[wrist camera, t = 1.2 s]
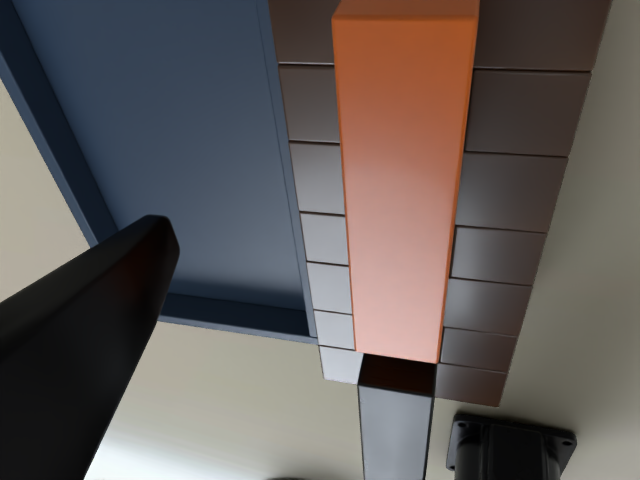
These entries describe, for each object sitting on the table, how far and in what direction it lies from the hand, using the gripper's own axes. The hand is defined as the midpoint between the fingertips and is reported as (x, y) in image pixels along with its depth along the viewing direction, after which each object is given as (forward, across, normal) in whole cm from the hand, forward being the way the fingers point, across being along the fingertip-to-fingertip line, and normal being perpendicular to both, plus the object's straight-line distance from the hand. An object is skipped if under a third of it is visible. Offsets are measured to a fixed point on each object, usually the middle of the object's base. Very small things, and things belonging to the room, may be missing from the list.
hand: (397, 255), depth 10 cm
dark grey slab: (+10, 0, +9) cm, 13 cm away
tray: (+10, +10, +5) cm, 14 cm away
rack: (+10, 0, +5) cm, 11 cm away
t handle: (+10, 0, 0) cm, 10 cm away
